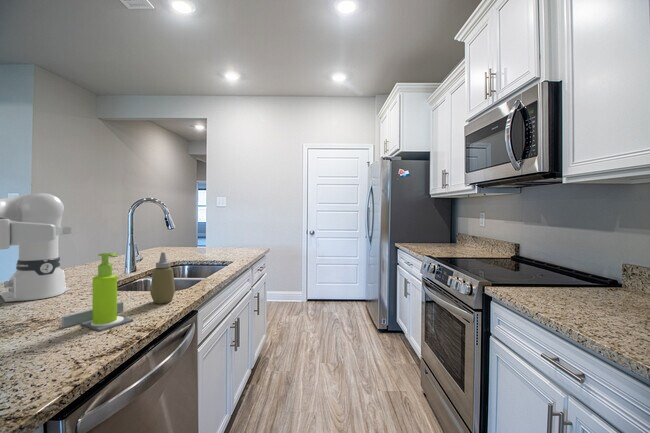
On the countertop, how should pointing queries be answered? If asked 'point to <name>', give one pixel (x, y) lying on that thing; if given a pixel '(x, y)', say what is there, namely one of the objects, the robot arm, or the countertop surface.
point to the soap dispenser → (105, 292)
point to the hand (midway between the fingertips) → (60, 229)
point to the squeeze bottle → (162, 281)
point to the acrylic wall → (83, 316)
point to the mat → (102, 327)
